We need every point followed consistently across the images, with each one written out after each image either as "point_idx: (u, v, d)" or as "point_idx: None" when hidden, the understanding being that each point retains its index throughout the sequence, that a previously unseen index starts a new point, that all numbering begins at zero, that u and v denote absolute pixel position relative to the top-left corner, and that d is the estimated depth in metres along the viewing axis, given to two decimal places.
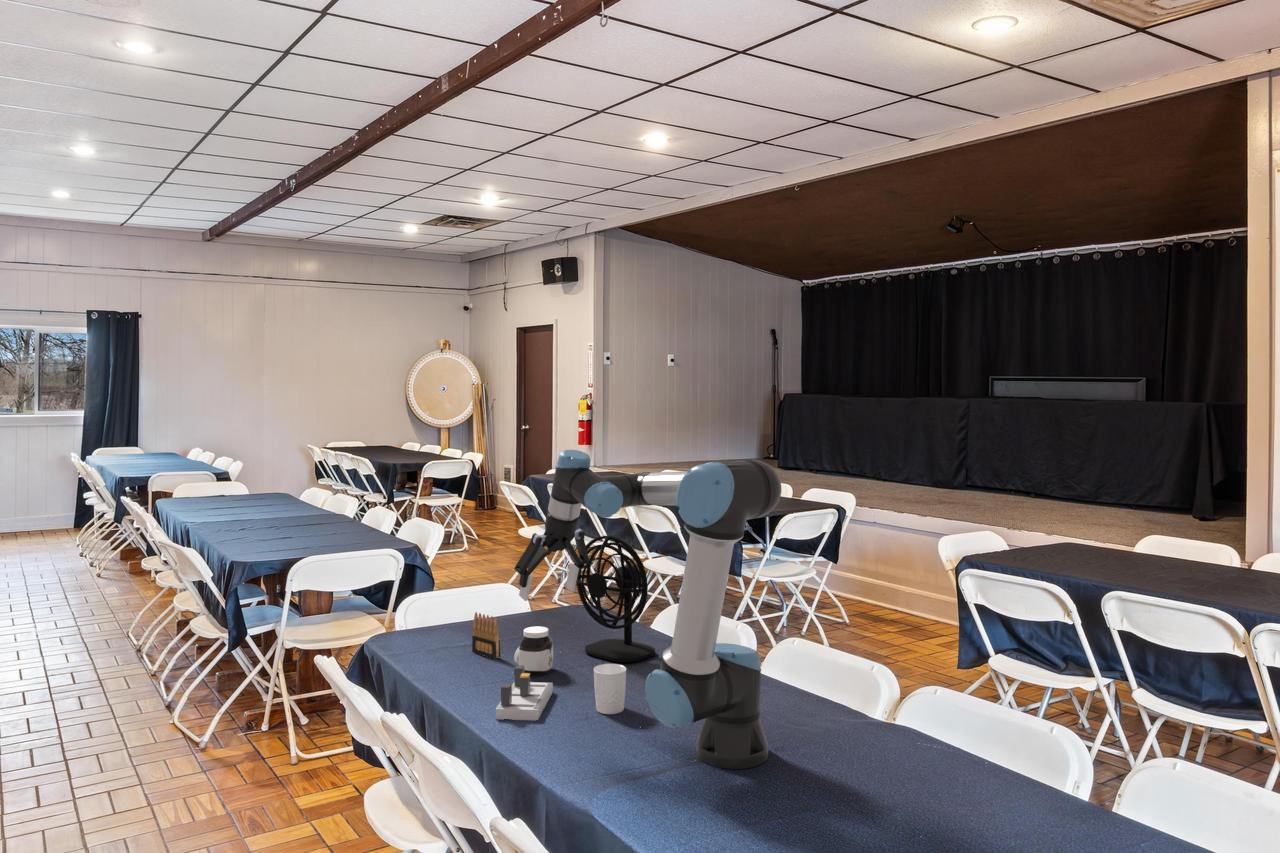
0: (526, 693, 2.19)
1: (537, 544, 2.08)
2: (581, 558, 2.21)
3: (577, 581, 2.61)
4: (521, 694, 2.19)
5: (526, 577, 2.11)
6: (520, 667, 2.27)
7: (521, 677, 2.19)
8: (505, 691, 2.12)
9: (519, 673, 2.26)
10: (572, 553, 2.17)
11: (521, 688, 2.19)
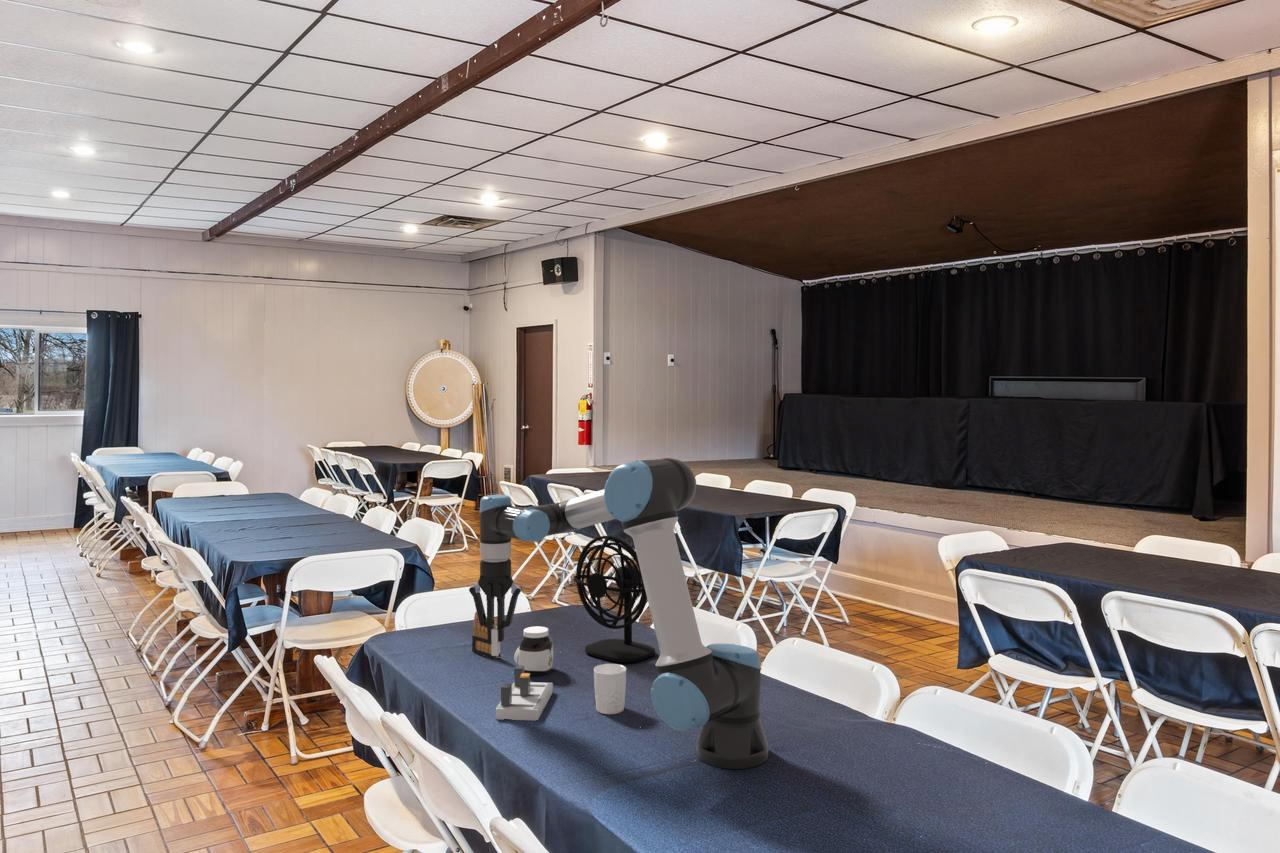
0: (526, 693, 2.19)
1: (472, 594, 2.19)
2: None
3: (577, 581, 2.61)
4: (521, 694, 2.19)
5: (490, 630, 2.20)
6: (520, 667, 2.27)
7: (521, 677, 2.19)
8: (505, 691, 2.12)
9: (519, 673, 2.26)
10: (498, 606, 2.19)
11: (521, 688, 2.19)
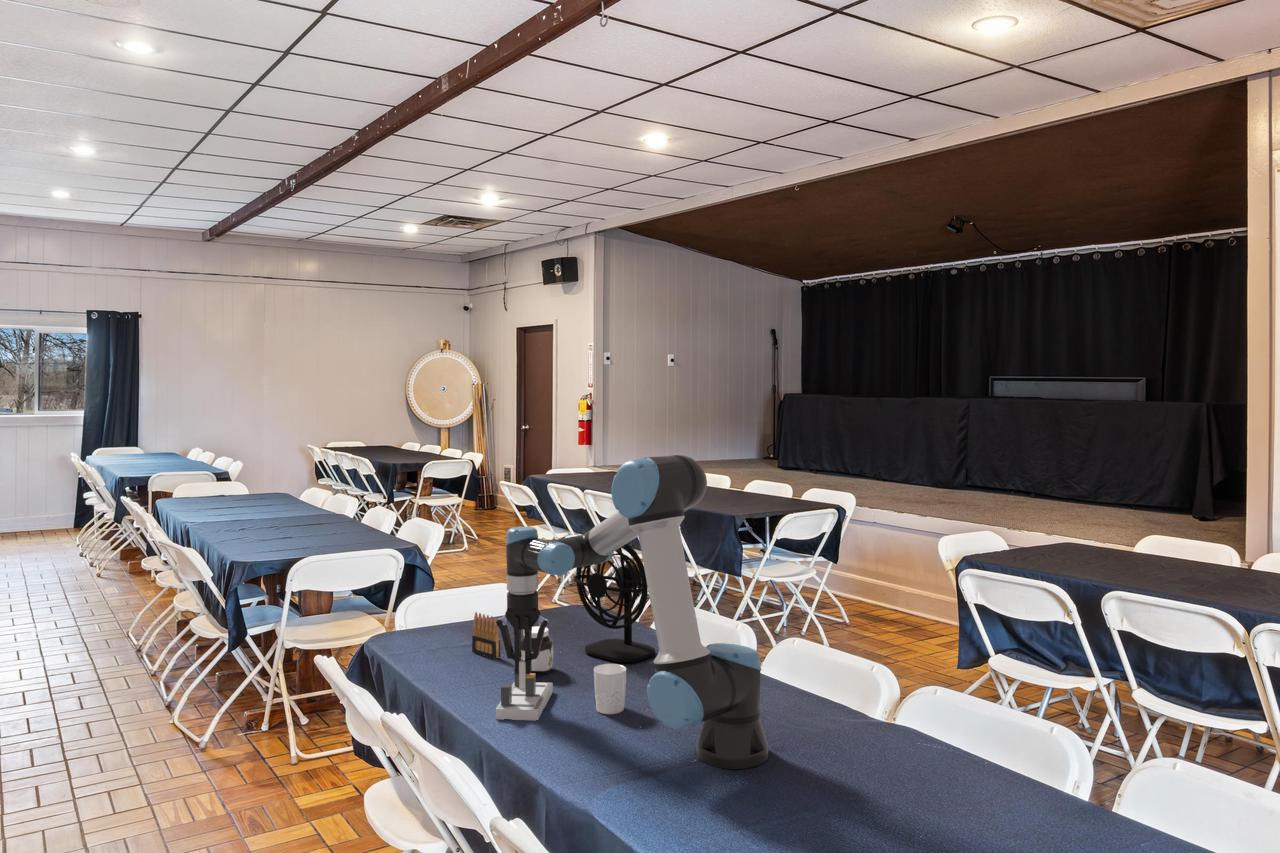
0: (531, 693, 2.19)
1: (500, 627, 2.19)
2: None
3: (577, 581, 2.61)
4: (526, 694, 2.19)
5: (518, 663, 2.19)
6: None
7: (526, 677, 2.19)
8: (505, 691, 2.12)
9: None
10: (526, 638, 2.18)
11: (526, 688, 2.19)
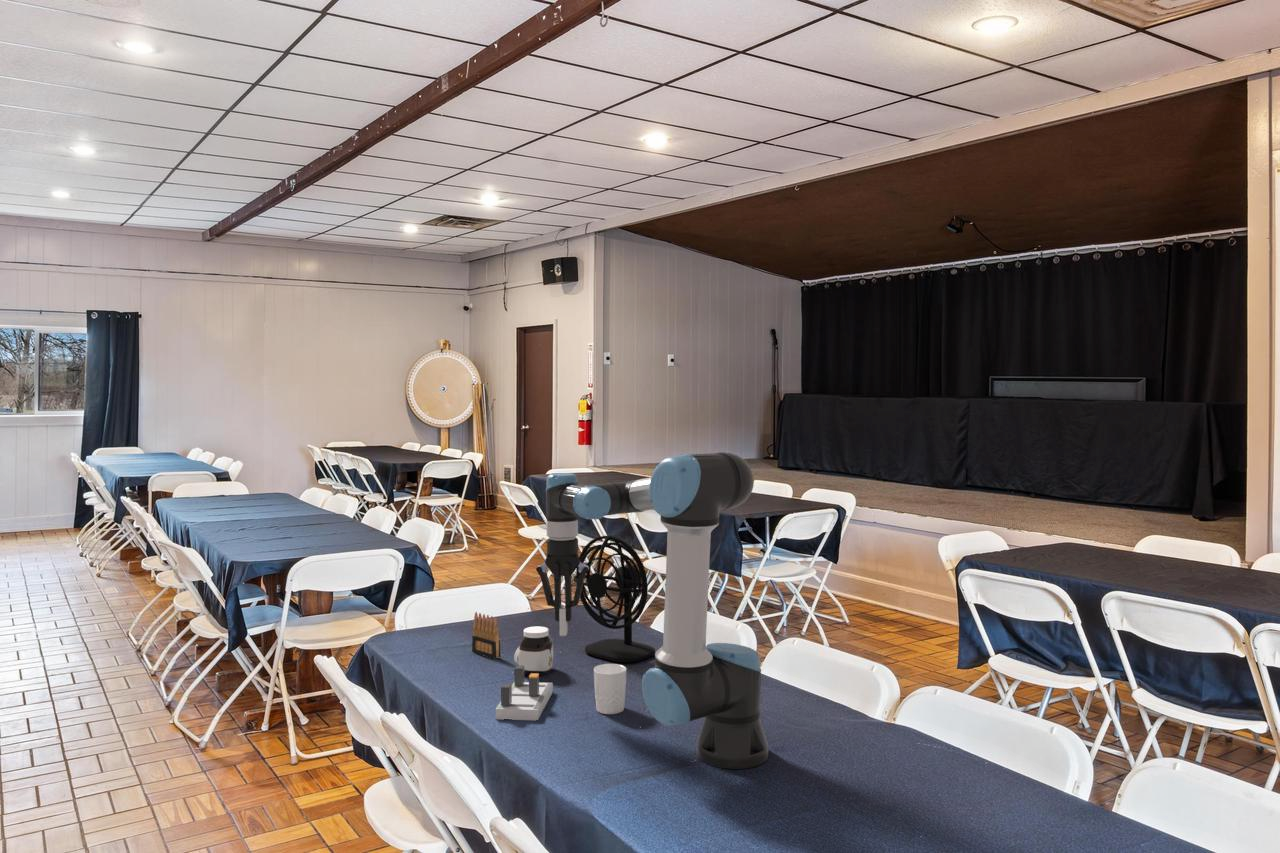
0: (535, 693, 2.19)
1: (540, 573, 2.17)
2: None
3: (577, 581, 2.61)
4: (530, 694, 2.19)
5: (558, 610, 2.17)
6: (520, 667, 2.27)
7: (530, 677, 2.19)
8: (505, 691, 2.12)
9: (519, 673, 2.26)
10: (566, 585, 2.17)
11: (530, 688, 2.19)
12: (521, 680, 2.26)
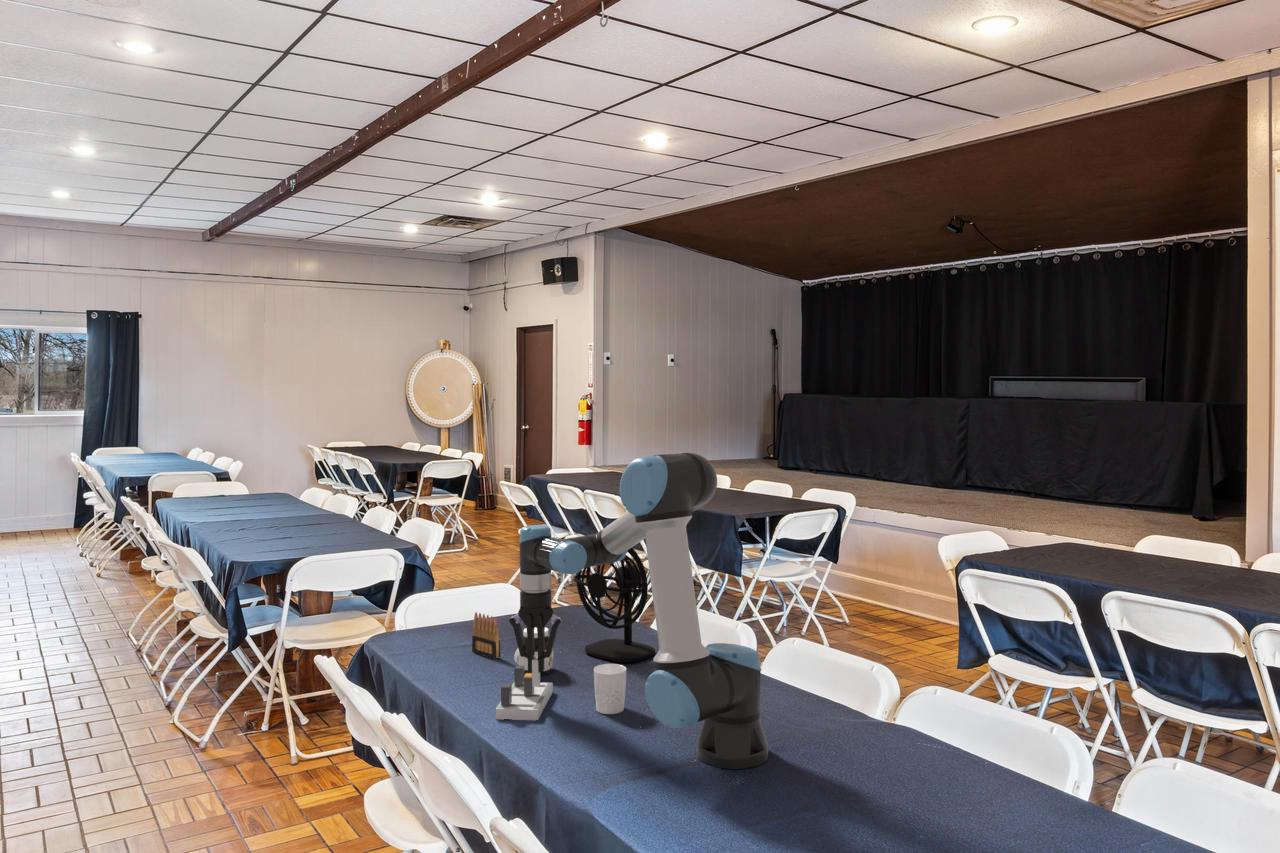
0: (530, 693, 2.19)
1: (513, 625, 2.19)
2: None
3: (577, 581, 2.61)
4: (525, 694, 2.19)
5: (530, 661, 2.19)
6: (520, 667, 2.27)
7: (525, 677, 2.19)
8: (505, 691, 2.12)
9: (519, 673, 2.26)
10: (539, 637, 2.18)
11: (525, 688, 2.19)
12: (521, 680, 2.26)
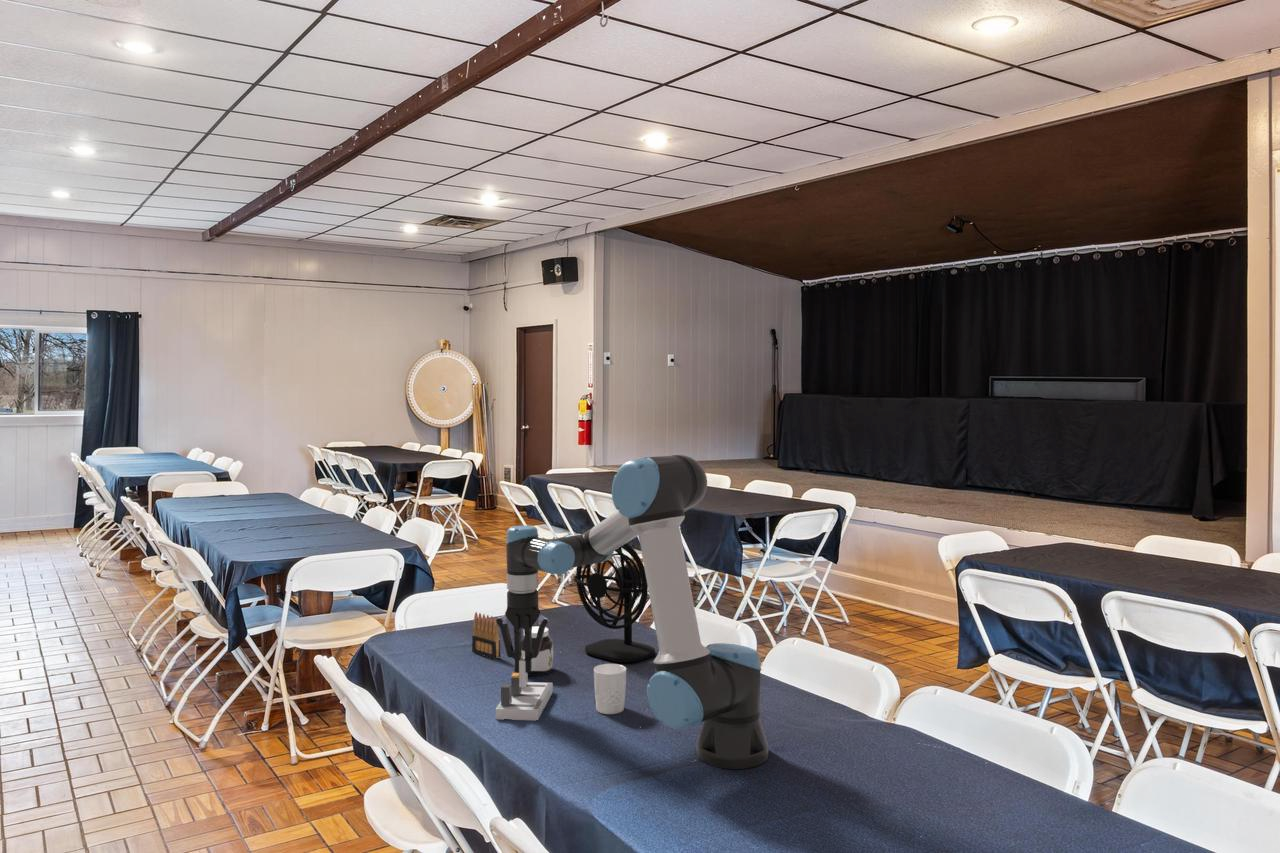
0: (517, 693, 2.19)
1: (500, 625, 2.19)
2: None
3: (577, 581, 2.61)
4: (512, 694, 2.19)
5: (518, 662, 2.19)
6: None
7: (512, 677, 2.19)
8: (505, 691, 2.12)
9: None
10: (526, 637, 2.18)
11: (512, 688, 2.19)
12: None
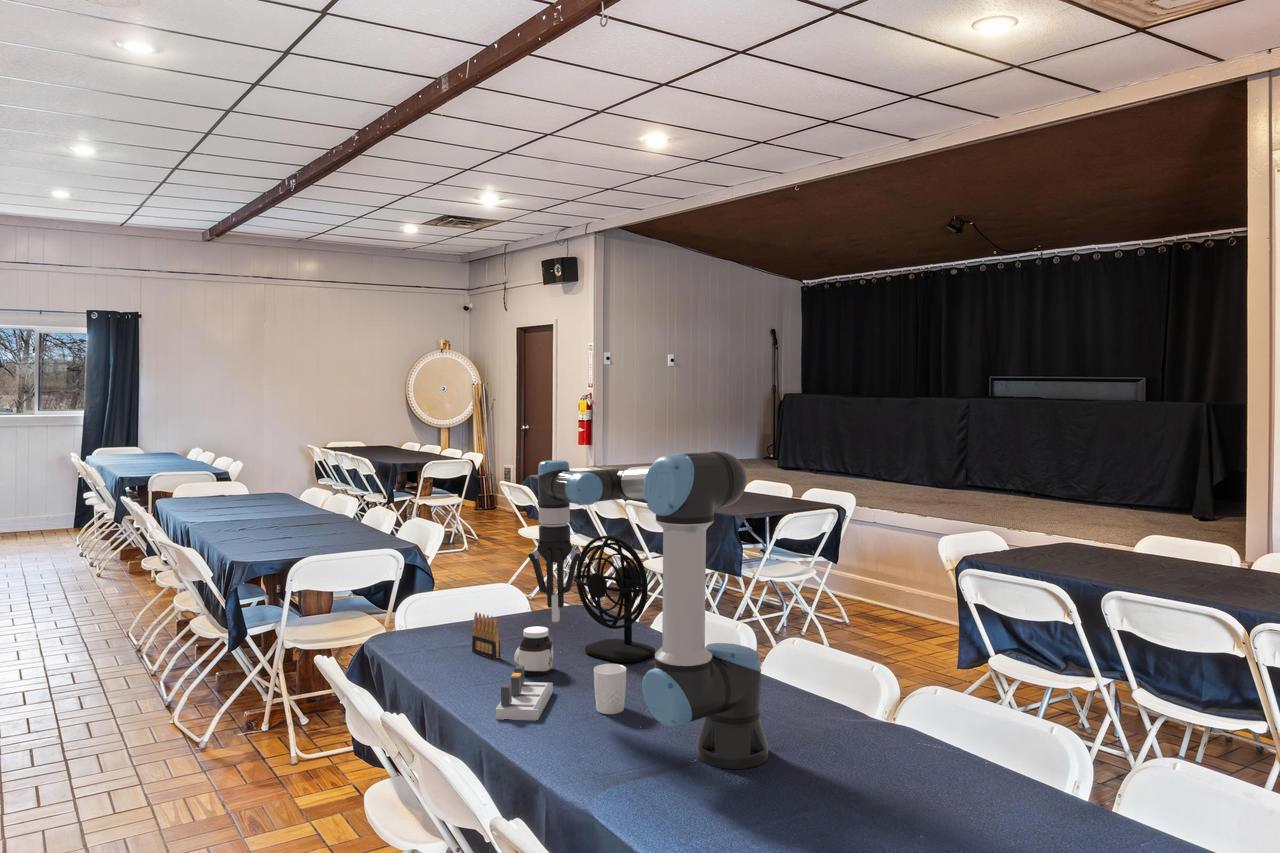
0: (517, 693, 2.19)
1: (532, 560, 2.18)
2: None
3: (577, 581, 2.61)
4: (512, 694, 2.19)
5: (550, 596, 2.19)
6: (520, 667, 2.27)
7: (512, 677, 2.19)
8: (505, 691, 2.12)
9: None
10: (558, 571, 2.18)
11: (512, 688, 2.19)
12: (521, 680, 2.26)
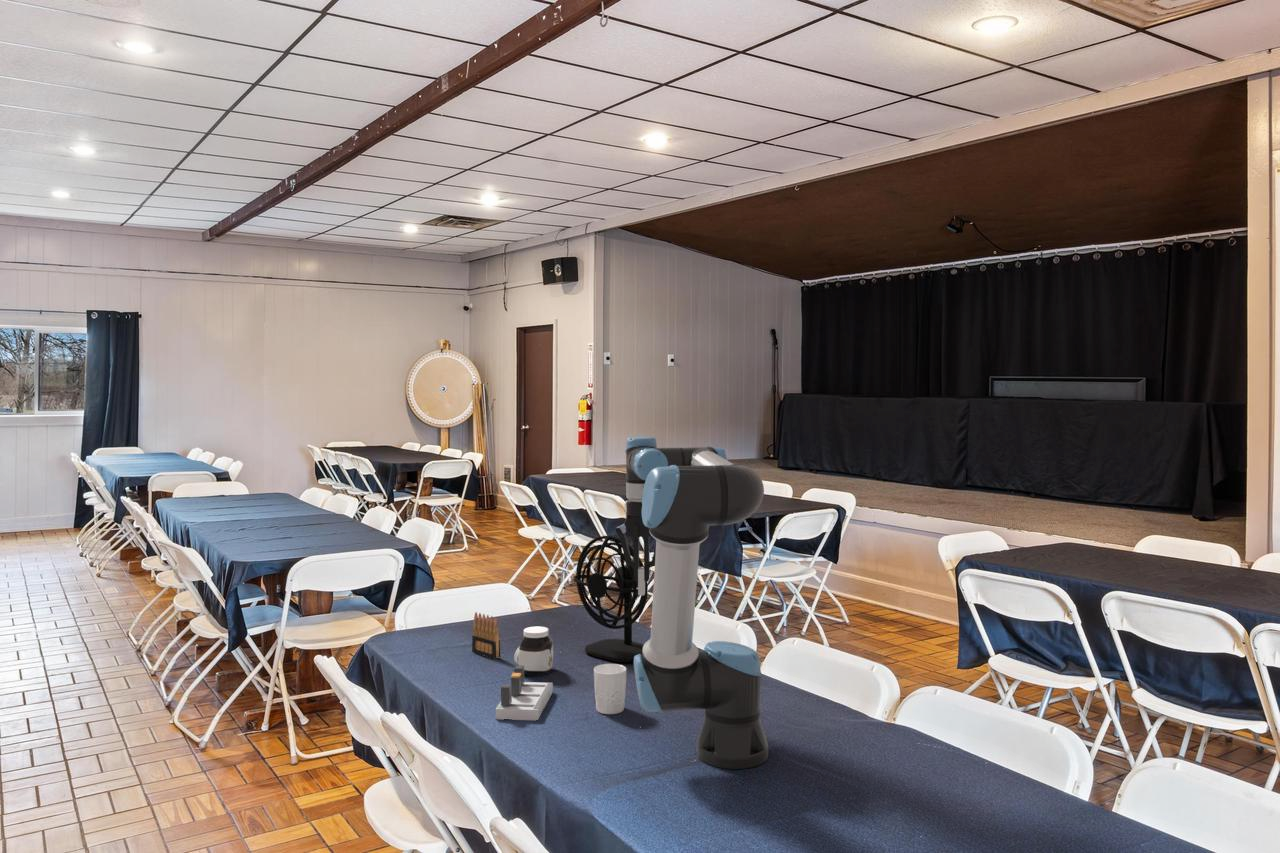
0: (517, 693, 2.19)
1: (619, 534, 2.22)
2: None
3: (577, 581, 2.61)
4: (512, 694, 2.19)
5: (636, 570, 2.23)
6: (520, 667, 2.27)
7: (512, 677, 2.19)
8: (505, 691, 2.12)
9: None
10: (645, 546, 2.22)
11: (512, 688, 2.19)
12: (521, 680, 2.26)
